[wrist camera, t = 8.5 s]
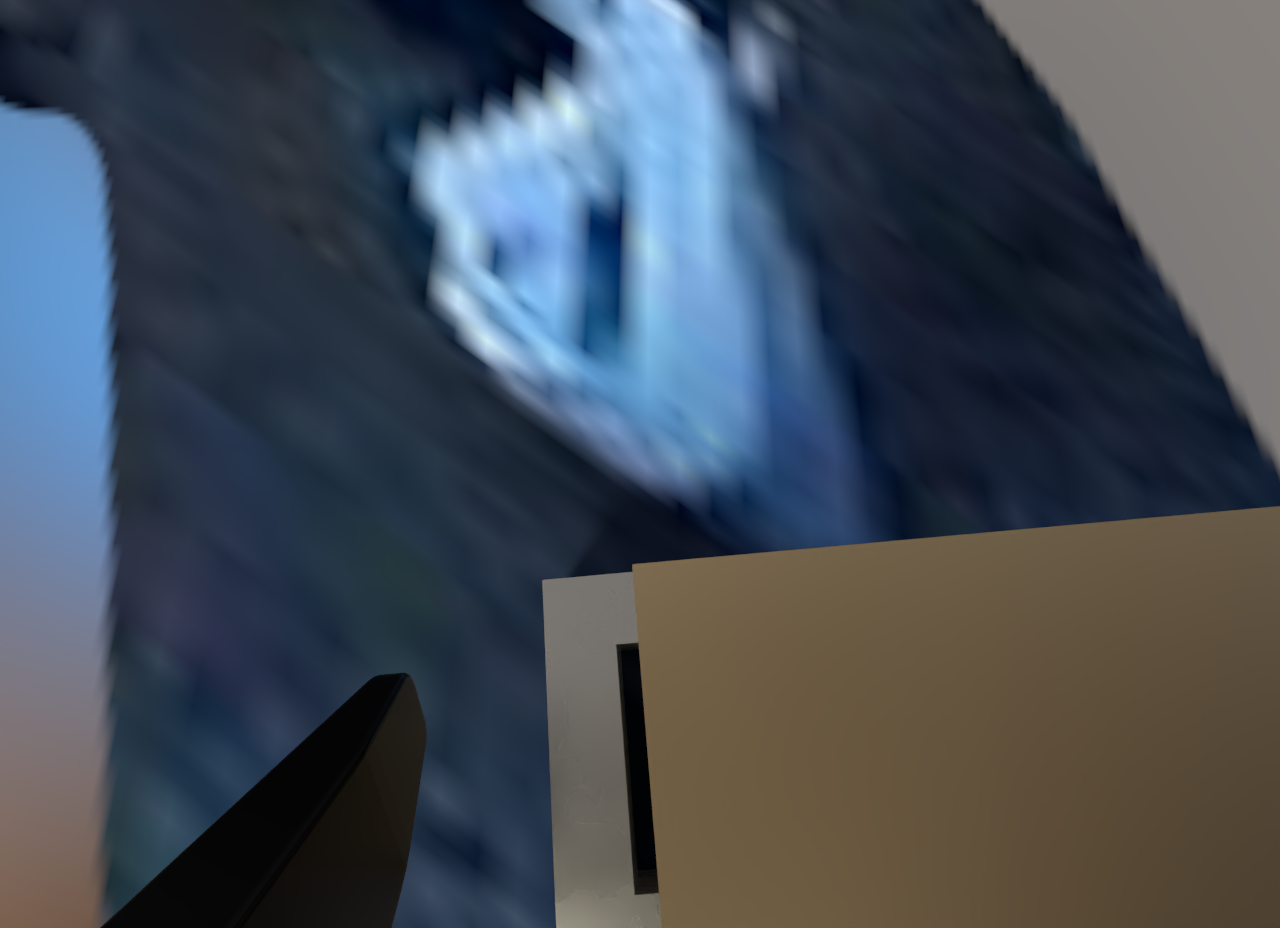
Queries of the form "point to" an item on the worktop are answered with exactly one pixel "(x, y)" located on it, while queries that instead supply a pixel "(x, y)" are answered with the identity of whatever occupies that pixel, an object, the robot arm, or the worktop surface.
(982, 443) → the worktop surface
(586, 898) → the socket plate
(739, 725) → the pin
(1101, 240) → the worktop surface
